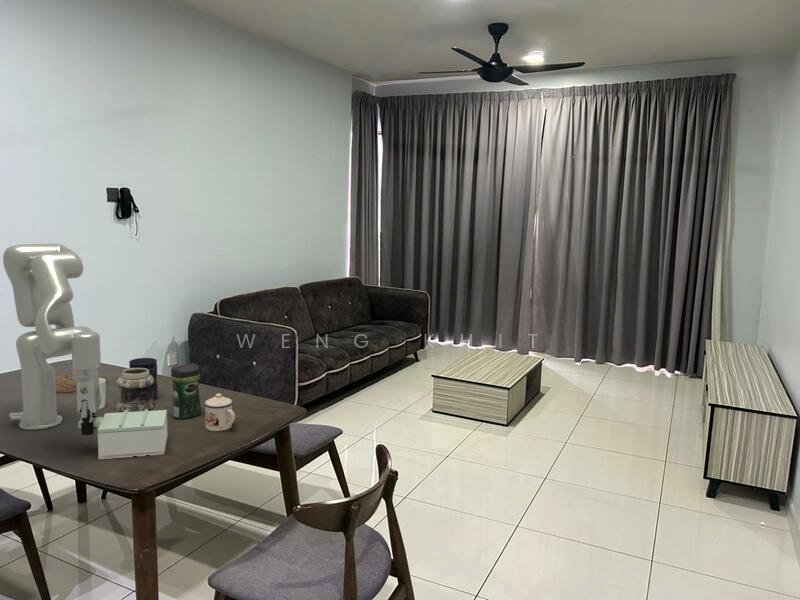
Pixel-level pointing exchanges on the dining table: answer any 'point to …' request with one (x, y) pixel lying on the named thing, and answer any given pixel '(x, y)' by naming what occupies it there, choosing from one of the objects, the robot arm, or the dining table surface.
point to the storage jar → (152, 367)
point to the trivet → (68, 383)
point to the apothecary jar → (135, 390)
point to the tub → (132, 443)
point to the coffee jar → (185, 391)
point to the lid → (130, 421)
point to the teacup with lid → (218, 413)
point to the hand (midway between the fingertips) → (89, 431)
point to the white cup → (102, 392)
